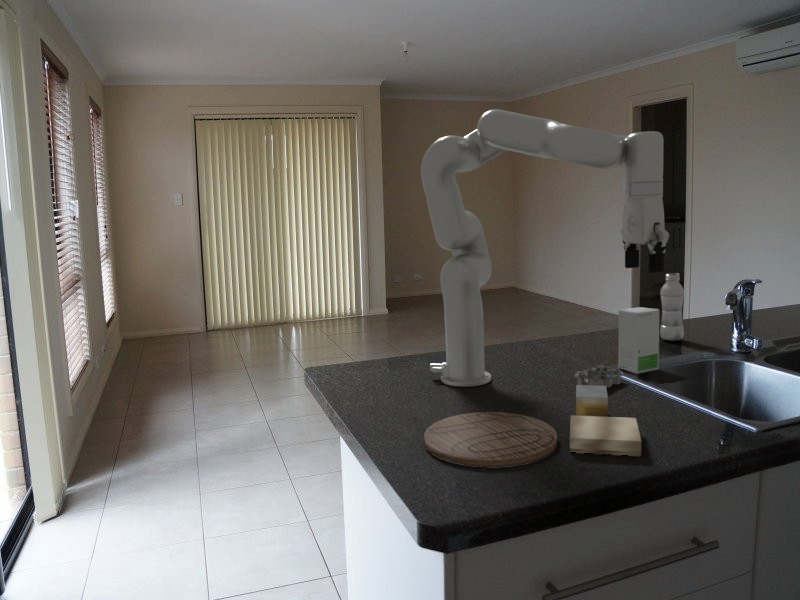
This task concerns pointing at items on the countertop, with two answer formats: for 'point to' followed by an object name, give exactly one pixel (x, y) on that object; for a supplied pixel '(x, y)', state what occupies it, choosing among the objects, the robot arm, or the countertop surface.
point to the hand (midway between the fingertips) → (643, 269)
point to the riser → (605, 435)
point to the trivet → (491, 439)
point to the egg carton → (598, 376)
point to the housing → (591, 400)
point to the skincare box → (639, 339)
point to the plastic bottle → (672, 308)
